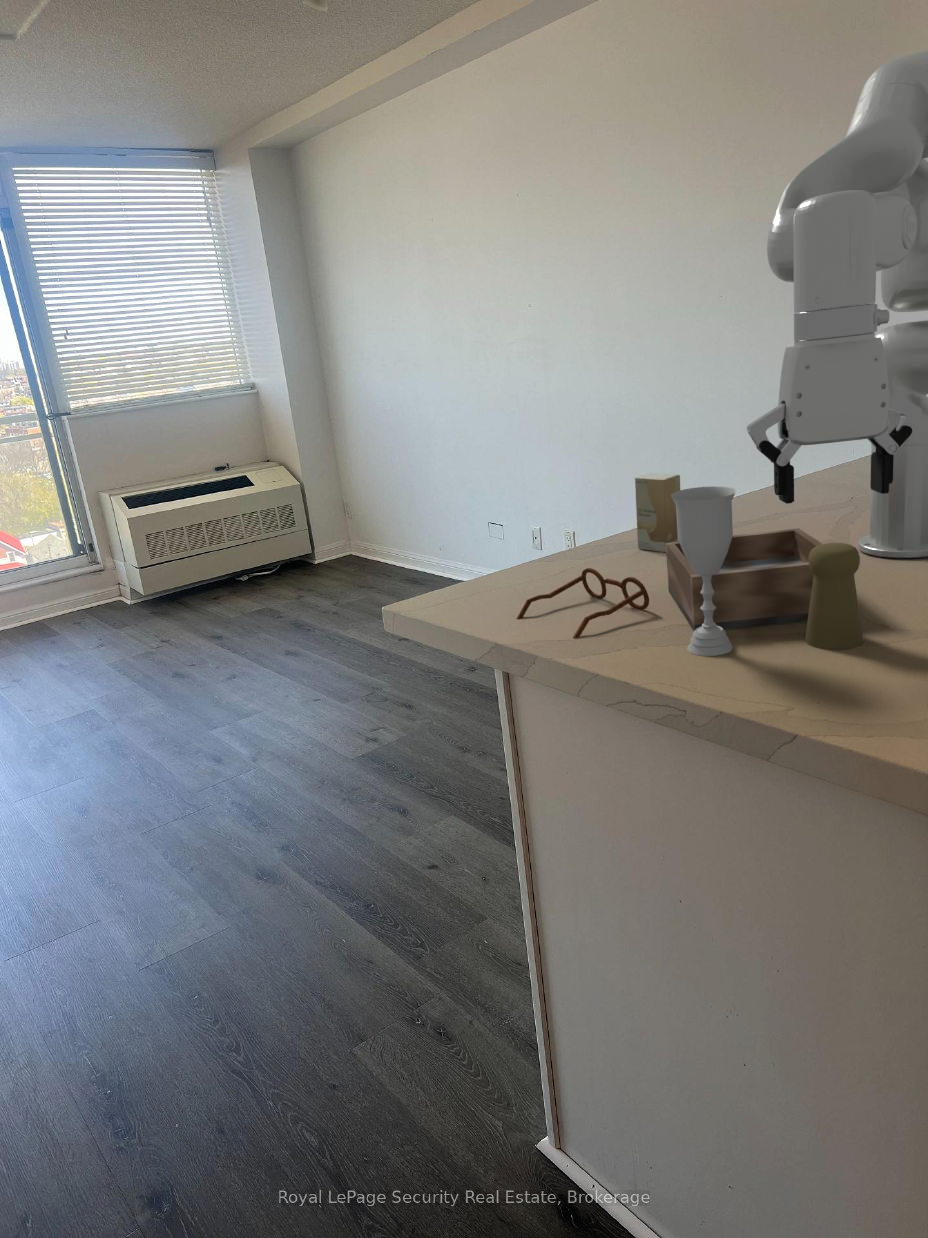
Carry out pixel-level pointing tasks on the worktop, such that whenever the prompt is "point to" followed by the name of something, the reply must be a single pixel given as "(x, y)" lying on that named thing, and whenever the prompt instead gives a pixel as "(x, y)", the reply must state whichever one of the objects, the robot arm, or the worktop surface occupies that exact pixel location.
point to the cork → (834, 598)
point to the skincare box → (656, 510)
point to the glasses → (596, 596)
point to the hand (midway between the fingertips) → (832, 496)
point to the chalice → (706, 553)
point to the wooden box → (749, 581)
